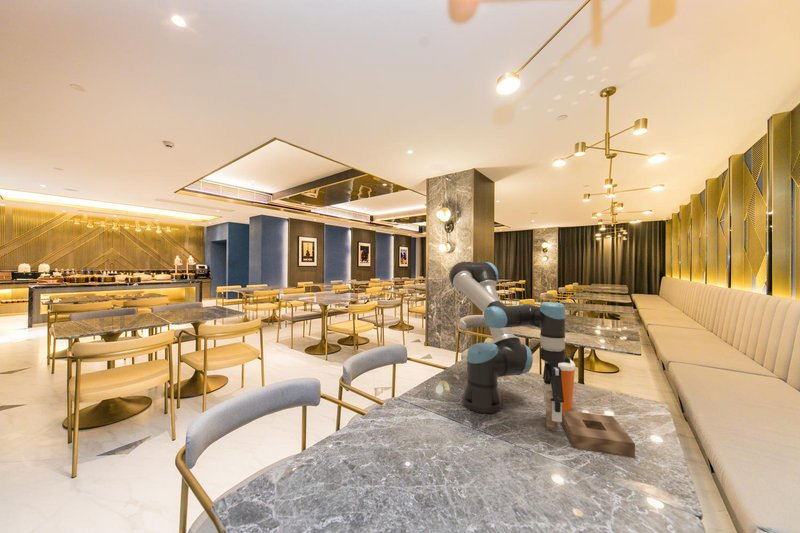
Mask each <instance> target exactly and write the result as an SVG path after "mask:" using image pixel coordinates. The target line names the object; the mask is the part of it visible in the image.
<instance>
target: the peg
mask: <svg viewBox="0 0 800 533" xmlns="http://www.w3.org/2000/svg"><path fill="white" fill-rule="evenodd" d="M551 398H553V395H552V391H546V402H545V403H546V404H545V428H546V430H549V431H553V432H557V431H558V423H559V422H556V421H552V401H551V400H550V399H551ZM557 398H558V397H557Z"/></svg>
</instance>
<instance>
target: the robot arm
mask: <svg viewBox="0 0 800 533" xmlns="http://www.w3.org/2000/svg"><path fill="white" fill-rule="evenodd" d="M448 279H449V281H450V283H451V285H452V286H453V287H454V288H455V289H456V290H457V291H461V292H462V293H463V295H465V296H466V298H468V299H469V300H470V301H471V302H472V303H473V304H474V305H475V306H476V307H477V309H479V310H480V311H481V312H483V319H484V321H485V324H486V326H487V327H488V328H489V331H490V333H491V336H492V339H493V342H476V343H473V344H472V345H470V346H469V347H468V349H467V355H466V362H467V365H466V366H467V367H466V368H467V369H466V371H467V374H466V376H467V377H466V378H467V380H466V385H465V389H464V392H463V394H462V405H463V406H464V407H465V408H467V409H468V410H470V411H472V412H476V413H481V414H494V413H498V412H500V411H501V410H502V409H503V400H502V397H501V393H500V390H499V386H498V381H499V379H498V378H502V377H508V376H509V377H510V376H521V375H525V374H527V373H529V372H530V371H531V369H532V367H533V366H532V365H533V363H534V362H533V361H534V357H533V353H532V351H531V349H530V347H529V346H528V345H526V344H524V343H522V342H521V340H520V338H519V336H516V335H514V332H513V329H512V328H515V327H517V328H518V327H519V328H520V327H535V328H538V329H540V330H539V331H540V335H539V343H540V344H539V345H540V349H539V350H540V352H539V354H540V355H539V356H540V357H539V358H540V359H541V360H542V361H544V366H543V375H542V379H543V402H544V403H546V391H552V395H553V398H551V399H550V400H551V401H552V421H556V422H558V423H561V422H562V403H564V398H563V388H562V378H561V372H562V371H561V369H560V367H558V364H559V363H563V362H564V361H565V355H566V351H565V349H566V343H567V342H568V340H567V339H566V318H567V315H566V307H565V305H564V304H563V303H560V302H550V301H546V302H545V301H544V302H542V303H540V305H539V306H538V305H533V304H530V303H521V304H519V305H505V304H504V303H503V302H502V301H501V299H500V297H499V294H498V292H497V289H496V287H497V284H498V281H499V271H498V268H497V267H496V266H495V264H493V263H492V262H489V261H488V262H487V261H460V262H457V263H455V264H454V265H453V266H452V267H451V268H450V270H449V274H448ZM557 397H559V398H557Z"/></svg>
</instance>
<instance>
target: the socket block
mask: <svg viewBox="0 0 800 533" xmlns="http://www.w3.org/2000/svg"><path fill="white" fill-rule="evenodd" d="M560 423H561V425H562V427H563V430H564V432H565V433H566V435H567V437H568V440H569V443H570V445H571V447H572V448H574V449H575V448H576V449H580V450H586V451H587V450H588V451H592V452H593V451H594V452H600V453H606V454H613V455H620V456H624V457H625V456H626V457H630V458H631V457H632V458H636V442H634V440H633V439H632V438H631V437H630V436H629V434H628V433H627V431H625V429H624V428H623V427H622V426H621V425H620V424H619V422H618V421H617V420H616V418H615V417H614V416H612V415H604V414H596V413H589V412H588V413H587V412H581V411H572V410H570V411H566V410H562V422H560Z"/></svg>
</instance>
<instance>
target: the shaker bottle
mask: <svg viewBox="0 0 800 533" xmlns="http://www.w3.org/2000/svg"><path fill="white" fill-rule="evenodd" d="M558 367H560V369H561V371H562V372H561V378H562V388H563V398H564V403H562V410H566V411H572V410H573V401H574V400H573V399H574V386H575V371H576V364H575V362H574V361H573V360H572V359H571V358H570V357H568V356H567V354H565V361H564V362H563V363H559V364H558ZM558 398H559V397H558Z"/></svg>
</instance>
